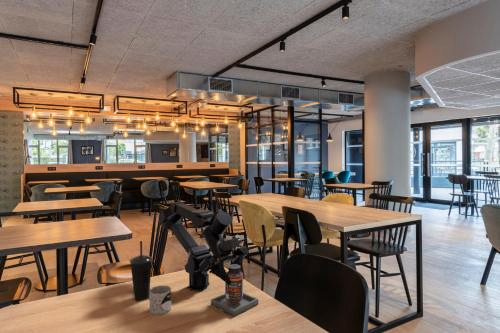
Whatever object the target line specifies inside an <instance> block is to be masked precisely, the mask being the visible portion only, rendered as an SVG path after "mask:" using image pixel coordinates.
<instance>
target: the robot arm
mask: <svg viewBox="0 0 500 333" xmlns="http://www.w3.org/2000/svg"><path fill="white" fill-rule="evenodd" d="M182 218H185V219H186V220H189V221H190V222H191V225H192V226H194V228H196V229H202V228H204V229H203V230H200V235H199V238H200V239H204V241H205V242H206V244H207V245H206V244H201V245H199V244H198V243H197V242H196V241H195V239H194V238H193V236H192V235H191V234H190V233H189V231H188V230H187V229H186V227H185V226H184V225H183V223H182ZM158 221H159V223H160V225H161V226H162V227H163V228H164V229H166V230H168V231H171V232H172V234H173V235H174V237H175V239H177V241H178V242H179V243H180V245H181V246H182V248H183V249H184V251H185V252H186V253H187V262H186V263H185V265H184V270H185V273H187V274H188V283H189V284H188V286H187V287H186V289H188V290H193V291H194V290H195V291H201V292H202V291H204V290H205V289H206V288H207V287H208V286H209V285H210V278H209V276H210V275H209V274H212V275H214V276H216V277H218V278H219V279H220V280H222V281H223V282H224V283H225V282H226V283H227V284H229V285H230V284H231V281H230V278H229V276H228V274H227V272H228V271H227V270H226V269H225V265H224V264H225V262H228V261H231V262H232V263H231V264H230V265H232V264H237V265H240V269H241V270H240V271H241V272H242V273H243V280H244V279H245V272H244V264H243V259H244V258H245V257H246V256H247V255H248V254H249V253H250V250H249V248H248V247H247V246H245V245H244V246H241V245H240V244H242V242H243V241H242V238H241V236H240V235H239V234H236V235H235V234H234V235H233V236H232V237H231V238H230V239H227V237H226V238H223V236H222V235H223V234H224V233H225V232H226V231H227V229H228V228H229V227H230V225H231V224H232V222H233V219H232V217H231V215H230V214H229V213H228V212H225V211H223V210H222V208H220V209H217V210H216V211H215V212H213V211H212V210H207V209H197V208H196V207H193V206H190V205H188V204H185V203H184V202H183V201H180V202H173V203H171V204H170V206H168V207H167V208H165V209H164V210H162V211H161V213H160V214H159V216H158ZM207 246H208V247H207ZM235 248H236V249H235ZM208 273H209V274H208Z"/></svg>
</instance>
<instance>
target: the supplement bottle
mask: <svg viewBox="0 0 500 333" xmlns="http://www.w3.org/2000/svg"><path fill="white" fill-rule="evenodd" d="M231 264H232V263H231ZM231 264H229V265H228V271H226V272H227V274H228V276H229V278H230V281H231V284H230V285H229V284H227V283H226V282H225V281H224V283H225V285H224V286H225V289H224V290H225V292H224V294H225V299H226V300H227V301H228V302H231V303H236V302H240V301H241V300H242V299H243V293H244V279H243V273H242V272H241V271H240V270H241V269H240V265H237V264H232V265H231Z"/></svg>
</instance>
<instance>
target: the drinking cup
mask: <svg viewBox="0 0 500 333" xmlns="http://www.w3.org/2000/svg"><path fill="white" fill-rule="evenodd" d="M129 263H130V270H131V278H132V287H133V298H134V300H135V301H138V302H141V301H142V302H143V301H145V300H148V299H150V289H151V288H150V287H151V276H152V263H153V257H152V256H149V255H145V254H143V241H142V240H140V241H139V255H137V256H134V257H132V258H130V259H129Z"/></svg>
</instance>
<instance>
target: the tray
mask: <svg viewBox="0 0 500 333" xmlns="http://www.w3.org/2000/svg"><path fill="white" fill-rule="evenodd" d="M210 305H211V306H212V307H214V308H217V309H218V310H220V311H222V312H224V313H226V314H227V315H230V316H232V317H233V318H234V317H237V316H238V315H241V314H243V313H244V312H246V311H249V310H250V309H252V308H254V307H256V306H258V305H259V298H257V297H255V296H252V295H250V294H248V293H245V292H243V299H242V300H241V301H240V302H236V303H231V302H228V301H227V300H226V299H225V293H224V294H221V295H219V296H216V297H214V298H211V299H210Z"/></svg>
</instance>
